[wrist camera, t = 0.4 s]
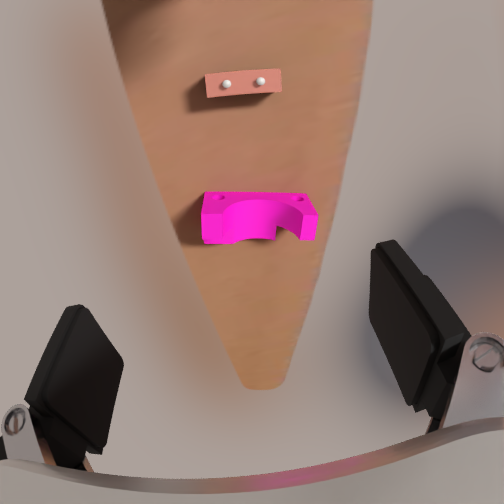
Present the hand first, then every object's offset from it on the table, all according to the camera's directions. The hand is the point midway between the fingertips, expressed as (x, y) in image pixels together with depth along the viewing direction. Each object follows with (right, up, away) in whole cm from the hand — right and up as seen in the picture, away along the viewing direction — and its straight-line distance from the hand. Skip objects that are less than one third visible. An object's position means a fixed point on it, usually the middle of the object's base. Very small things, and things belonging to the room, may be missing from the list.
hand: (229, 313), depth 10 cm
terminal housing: (-1, +24, +27) cm, 36 cm away
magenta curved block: (+1, +8, +38) cm, 39 cm away
